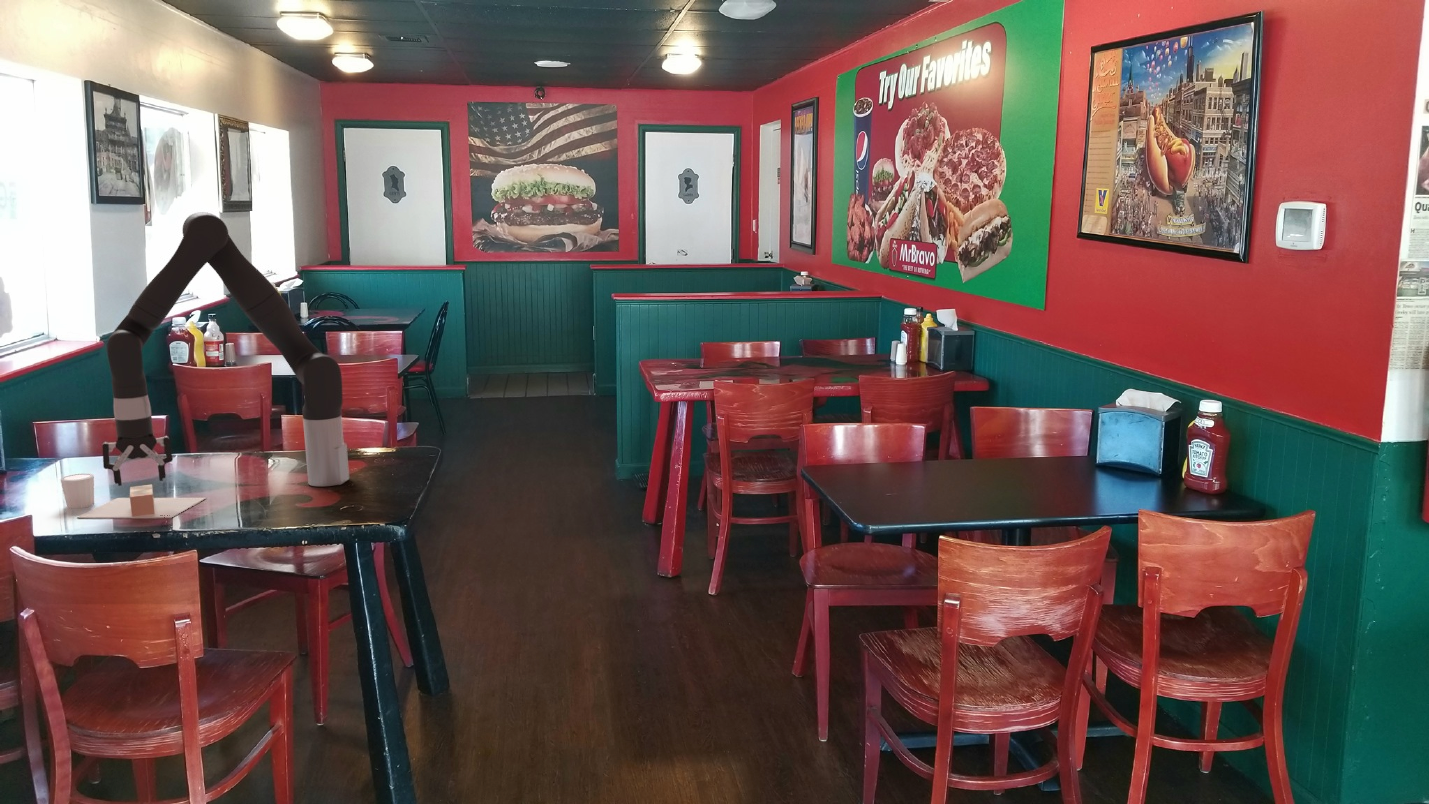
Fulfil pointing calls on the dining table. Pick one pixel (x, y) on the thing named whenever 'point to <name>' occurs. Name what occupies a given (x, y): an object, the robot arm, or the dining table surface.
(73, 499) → the beige tapered cup
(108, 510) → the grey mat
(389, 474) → the dining table surface
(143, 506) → the birch block
